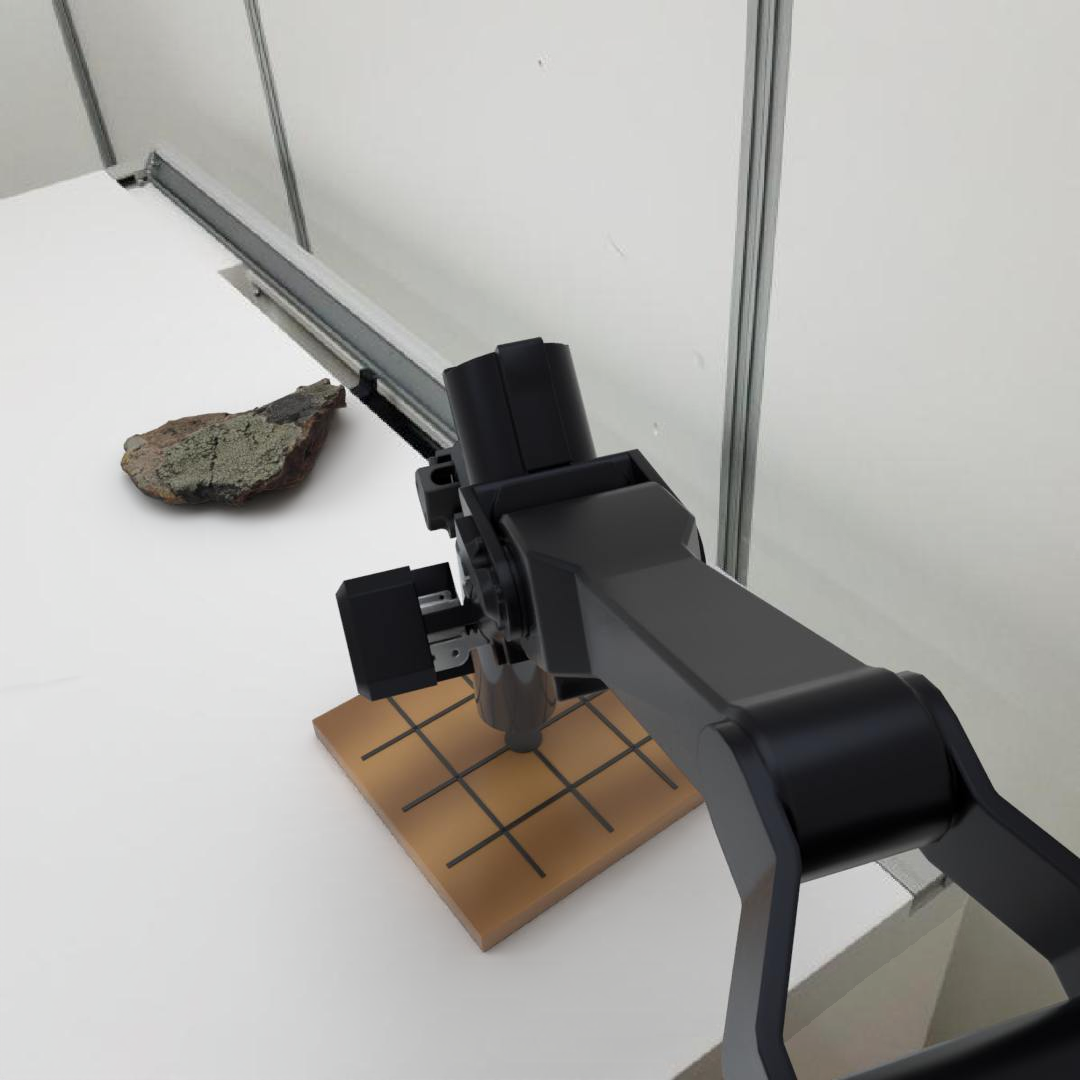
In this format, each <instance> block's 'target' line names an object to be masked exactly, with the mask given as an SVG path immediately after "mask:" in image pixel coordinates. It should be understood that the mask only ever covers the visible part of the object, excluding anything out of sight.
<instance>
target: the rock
mask: <svg viewBox="0 0 1080 1080" xmlns="http://www.w3.org/2000/svg"><path fill="white" fill-rule="evenodd" d="M346 396H347V390H346V386H345V385H343V384H341V383H340V384H339V385H334V384H332V383H331V379H330V378H329V377H328V378H327V377H324V378H321V379H320V380H318V381H315V382H314V383H311V384H309V385H299V386H298V387H296V390H295V391H294V392H291V393H288V394H286V395H284V396H283V397H280V398H277V399H275V400H273V401H271V402H268V403H267V404H263V405H261V406H259V407H258V406H256V407H254V408H253V409H248V410H247V411H243V412H242V411H241V412H236V413H228V412H213V413H212V412H211V413H209V412H208V413H204V414H203V413H202V414H197V415H190V416H189V415H188V416H184V417H180V418H177V419H172V420H171V419H170V420H167V421H166V423H164V424H162V425H159V427H157V428H154V429H152V430H149V431H146V432H143V433H142V434H137V433H136V434H133V435H132V436H130V437H127V439H125V441H124V443H123V450H124V451H125V452H124V454H123V456H122V458H121V461H120V462H119V463H120V467H121V470H122V471H123V472H125V474H127V475H128V477H129V479H130V480H131V481H132V483H133V484H134V486H135V487H136V488H137V489H138V491H140V492H141V493H142V494H143V495H144V496H146V497H149V498H150V499H153V500H157V501H160V502H164V503H165V504H168V505H170V506H173V505H180V504H192V505H198V504H202V503H207V502H210V501H215V502H218V503H220V504H223V505H227V506H230V507H233V508H240V507H242V506H243V505H245V504H246V503H247V502H248V501H249V500H250V499H251V498H252V497H253V496H255V495H257V494H259V493H263V492H267V491H271V490H282V489H290V488H295V487H297V486H299V485H300V484H301V482H302V481H303V480H304V479H305V478H306V477H307V475H308V474H310V473H311V471H312V468H313V466H314V463H315V461H316V459H317V457H318V455H319V452H320V450H321V448H322V446H323V445H324V443H325V442H326V440H327V438H328V436H329V429H330V428H329V427H330V425H331V423H332V420H333V417H334V410H337V409H344V408H347V406H348V405H347V402H346V399H347V397H346Z"/></svg>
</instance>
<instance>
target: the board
mask: <svg viewBox="0 0 1080 1080" xmlns="http://www.w3.org/2000/svg"><path fill="white" fill-rule="evenodd" d="M311 722H312V726H313V730H314V733H315V736H316V737H317V738H318V740H319V741H320V743H321V744H322V745H323V746H324V748H325V749H326V751H328V752H329V754H330V755H331V757H332V758H333V759H334V761H335V762H336V763H337V764H338V765H339V767H340V768H341V770H342V771H343V772H344V773H345V776H347V778H348V779H349V780H350V781H351V783H352V784H353V785H354V787H355V788H356V789H357V791H358V792H359V793H360V794H361V795H362V797H363V798H364V800H366V802H367V804H369V806H370V807H371V809H372V810H373V811H374V812H375V814H376V815H377V816H378V818H379V819H380V820H381V822H382V823H383V825H385V827H386V828H387V830H388V831H389V832H390V833H391V835H392V836H393V838H395V840H396V841H397V842H398V844H399V845H400V847H401V848H402V849H403V850H404V851H405V853H406V854H407V855H408V857H409V858H410V859H411V861H412V863H414V864H415V866H416V867H417V868H418V870H419V871H420V872H421V873H422V875H423V876H424V877H425V879H426V880H427V881H428V883H429V884H430V886H431V887H432V888H433V889H434V891H435V892H436V893H437V894H438V896H439V897H440V898H441V900H442V901H443V903H445V905H446V906H447V907H448V909H449V910H450V911H451V912H452V914H453V915H454V916H455V918H456V919H457V920H458V921H459V923H460V924H461V925H462V928H464V929H465V931H466V932H467V933H468V935H469V936H470V938H472V940H473V941H474V942H475V944H476V945H477V946H478V948H479V949H480V950H481V951H482V952H483V953H486V952H487V951H488V950H490V949H491V948H493V947H494V946H495V945H497V944H498V943H500V942H501V941H503V940H504V939H506V938H507V937H508V936H511V934H513V933H514V932H516V931H517V930H519V929H521V928H522V927H523V926H524V925H526V924H528V923H529V922H530V921H531V920H534V918H536V917H538V916H539V915H541V914H542V913H544V912H545V911H546V910H548V909H549V908H550V907H552V906H554V905H556V904H557V903H558V902H560V901H561V900H562V899H564V898H565V897H567V896H568V895H570V894H571V893H573V892H574V891H576V890H578V889H579V888H580V887H582V886H583V885H584V884H586V883H587V882H589V881H590V880H591V879H594V878H595V877H596V876H597V875H599V874H600V873H602V872H603V871H604V870H606V869H608V868H609V867H611V866H612V865H613V864H615V863H617V862H618V861H619V860H621V859H623V858H624V857H626V856H627V855H628V854H630V853H631V852H633V851H634V850H635V849H637V848H638V847H640V846H642V845H643V844H644V843H645V842H647V841H648V840H650V839H651V838H653V837H655V836H656V835H657V834H659V833H660V832H662V831H663V830H664V829H666V828H668V827H669V826H670V825H672V824H673V823H675V822H676V821H677V820H679V819H681V818H682V817H684V816H685V815H686V814H688V813H690V812H691V811H693V810H694V809H695V808H697V807H698V806H700V805H701V804H703V803H705V799H704V797H703V796H702V795H701V794H700V793H699V792H698V791H697V789H696V788H695V787H694V786H693V785H692V784H691V783H690V781H689V780H688V779H687V778H686V777H685V776H684V774H683V773H682V772H681V771H680V770H679V769H678V768H677V766H676V765H675V764H674V763H673V762H672V761H671V759H670V758H669V757H668V756H667V755H666V754H665V753H664V751H663V750H662V749H661V748H660V747H659V746H658V744H657V743H656V742H655V741H654V740H653V739H652V738H651V736H650V735H649V734H648V733H647V732H646V731H645V729H644V728H643V727H642V726H641V725H640V724H639V723H638V721H637V720H636V719H635V718H634V717H633V716H632V715H631V713H630V712H629V711H628V710H627V709H626V708H625V706H624V705H623V704H622V703H621V702H620V701H619V700H618V698H617V697H616V696H615V695H614V694H613V693H612V691H611V690H606V691H602V692H598V693H594V694H590V695H586V696H583V697H579V698H575V699H571V700H567V701H563V702H558V701H557V705H556V708H555V711H554V713H553V714H552V716H551V717H550V718H549V719H548V720H547V721H546V722H545V723H544V724H542V725H541V726H539V727H537V728H535V729H532V730H530V731H526V732H520V733H508V732H502V731H499V730H496V729H494V728H492V727H490V726H488V725H487V724H486V723H485V722H484V721H483V720H482V719H481V718H480V716H479V714H478V712H477V709H476V701H475V694H474V686H473V678H472V674H469V675H465V676H461V677H457V678H453V679H449V680H445V681H441V682H437V685H436V686H432V687H428V688H424V689H420V690H416V691H412V692H408V693H404V694H400V695H396V696H392V697H388V698H384V699H380V700H376V701H373V702H372V701H370V700H369V699H367V698H365V697H364V696H362V695H360V694H359V693H358V694H357V695H356V696H353V697H352V698H350V699H348V700H346V701H344V702H342V703H341V704H339V705H337V706H334V707H333V708H331V709H330V710H328V711H326V712H324V713H322V714H320V715H319V716H316V717H315V718H313V719H311Z"/></svg>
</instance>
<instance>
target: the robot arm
mask: <svg viewBox="0 0 1080 1080" xmlns="http://www.w3.org/2000/svg"><path fill="white" fill-rule="evenodd" d="M571 351H572V350H571V348H570V345H569V344H564V343H561V342H544V339H543V338H542V336H537V337H532V338H526V339H521V340H517V341H511V342H507V343H500V344H497V345H496V347H495V349H494V351H492V352H488V353H486V354H483V355H479V356H477V357H474V358H472V359H469V360H467V361H464V362H462V363H460V364H458V365H456V366H450V367H447V368H444V370H443V371H442V373H441V375H442V380H443V384H444V388H445V391H446V396H447V400H448V404H449V408H450V413H451V417H452V421H453V425H454V429H455V434H456V437H457V441H455V443H454V444H453V445H452V446H450V447H447V448H441V449H437V450H435V453H434V454H435V455H434V456H430V457H427V461H428V465H426V466H421V467H419V468H417V469H416V470H415V471H414V480H415V481H414V483H415V488H416V493H417V497H418V500H419V504H420V507H421V508H420V509H421V512H422V515H423V519H424V522H425V526H426V529H427V530H428V531H430V532H435V531H438V530H445V531H446V532H447V534H448V537H449V539H450V540H451V539H456V538H457V543H458V545H459V548H460V551H459V555H460V559H461V564H462V568H463V572H464V575H465V576H470V578H471V579H467V580H465V581H464V582H463V590H464V594H465V596H466V598H467V599H470V598H471V593H472V603H469V604H465V605H463V604H462V602H461V600H460V597H459V594H458V591H457V588H456V584H455V581H454V576H453V573H452V569H451V565H450V562H449V561H444V562H440V563H436V564H432V565H428V566H423V567H419V568H414V569H411V567H410V565H405V566H399V567H397V568H392V569H388V570H384V571H379V572H375V573H371V574H366V575H362V576H357V577H353V578H348V579H345V580H343V581H342V583H341V584H340V585H339V587H338V589H337V591H336V592H335V600H336V604H337V609H338V613H339V617H340V621H341V625H342V631H343V634H344V639H345V642H346V647H347V652H348V657H349V660H350V665H351V669H352V673H353V677H354V682H355V686H356V690H357V694H358V695H359V694H360V695H362V696H364V697H365V698H367V699H369V700H370V701H372V702H373V701H376V700H380V699H384V698H388V697H392V696H396V695H400V694H404V693H408V692H412V691H416V690H420V689H424V688H428V687H432V686H436V685H437V682H441V681H445V680H449V679H453V678H457V677H461V676H465V675H469V674H472V673H475V668H474V662H473V656H472V649H474V648H478V647H482V646H486V645H490V644H491V646H492V650H493V655H494V659H495V663H496V666H499V665H503V664H507V665H512V664H516V663H520V662H524V661H528V660H531V661H532V662H533V663H535V664H536V665H537V666H539V667H540V668H541V669H542V670H544V671H545V672H547V673H548V674H549V675H550V679H551V683H552V687H553V692H554V695H555V698H556V700H557V701H558V702H563V701H567V700H571V699H575V698H579V697H583V696H586V695H590V694H594V693H598V692H602V691H606V690H611V691H612V693H613V694H614V695H615V696H616V697H617V698H618V700H619V701H620V702H621V703H622V704H623V705H624V706H625V708H626V709H627V710H628V711H629V712H630V713H631V715H632V716H633V717H634V718H635V719H636V720H637V721H638V723H639V724H640V725H641V726H642V727H643V728H644V729H645V731H646V732H647V733H648V734H649V735H650V736H651V738H652V739H653V740H654V741H655V742H656V743H657V744H658V746H659V747H660V748H661V749H662V750H663V751H664V753H665V754H666V755H667V756H668V757H669V758H670V759H671V761H672V762H673V763H674V764H675V765H676V766H677V768H678V769H679V770H680V771H681V772H682V773H683V774H684V776H685V777H686V778H687V779H688V780H689V781H690V783H691V784H692V785H693V786H694V787H695V788H696V789H697V791H698V792H699V793H700V794H701V795H702V796H703V797H704V799H705V801H704V803H705V805H706V809H707V812H708V814H709V817H710V821H711V824H712V827H713V830H714V833H715V835H716V838H717V840H718V843H719V846H720V848H721V851H722V853H723V857H724V858H725V861H726V864H727V867H728V869H729V872H730V874H731V875H730V876H731V877H732V880H733V882H734V885H735V888H736V890H737V893H738V895H739V899H740V904H741V907H740V913H739V914H740V915H739V921H738V929H737V935H736V941H735V942H736V943H735V949H734V955H733V956H734V957H733V965H732V971H731V979H730V985H729V992H728V998H727V999H728V1000H727V1008H726V1013H725V1021H724V1027H723V1036H722V1042H721V1050H720V1061H721V1063H720V1064H721V1070H722V1072H721V1073H722V1077H723V1080H799V1079H798V1077H797V1074H796V1072H795V1069H794V1066H793V1063H792V1060H791V1058H790V1055H789V1053H788V1050H787V1047H786V1045H785V1041H784V1027H785V1018H786V1012H787V1011H786V1010H787V1001H788V994H789V985H790V976H791V969H792V968H791V967H792V959H793V950H794V941H795V933H796V924H797V917H798V907H799V899H800V898H799V897H800V890H801V885H802V884H805V883H809V882H811V881H814V880H815V881H816V880H817V879H821V878H824V877H825V878H826V877H827V876H831V875H834V874H838V873H841V872H845V871H848V870H851V869H855V868H857V867H861V866H865V865H868V864H870V863H874V862H877V861H880V860H884V859H888V858H890V857H894V856H897V855H901V854H904V853H907V852H910V851H914V850H917V849H918V850H919V851H920V852H921V853H922V855H923V856H924V858H925V859H926V860H927V861H928V862H929V863H930V864H931V865H933V867H935V868H936V869H937V870H939V872H941V873H942V874H943V875H945V876H946V877H947V878H948V879H949V880H951V882H953V883H954V884H955V885H957V886H958V887H959V888H960V889H961V890H962V891H963V892H964V893H966V894H968V895H969V896H970V897H971V898H972V899H974V900H975V901H976V902H977V903H978V904H979V905H980V906H982V907H983V908H984V909H985V910H987V911H988V912H989V913H990V914H991V915H993V916H994V917H995V918H996V919H998V920H999V921H1000V922H1001V923H1002V924H1003V925H1005V926H1006V927H1007V928H1008V929H1009V930H1011V931H1012V932H1013V933H1015V935H1016V936H1018V937H1019V938H1020V939H1021V940H1023V942H1025V943H1027V944H1028V945H1029V946H1030V947H1031V948H1032V949H1034V950H1035V951H1036V952H1037V953H1038V954H1040V955H1041V956H1042V957H1043V958H1045V959H1046V960H1047V961H1048V963H1049V964H1050V965H1051V967H1052V968H1053V971H1054V973H1055V974H1056V977H1057V978H1058V980H1059V983H1060V984H1061V986H1062V988H1063V990H1064V992H1065V994H1066V997H1067V998H1068V999H1065V1000H1062V1001H1059V1002H1057V1003H1053V1004H1051V1005H1047V1006H1044V1007H1042V1008H1038V1009H1036V1010H1032V1011H1030V1012H1027V1013H1024V1014H1021V1015H1018V1016H1015V1017H1012V1018H1009V1019H1006V1020H1002V1021H1000V1022H997V1023H995V1024H991V1025H989V1026H986V1027H985V1026H984V1027H983V1028H979V1029H977V1030H974V1031H971V1032H968V1033H965V1034H962V1035H959V1036H956V1037H953V1038H950V1039H947V1040H944V1041H941V1042H938V1043H936V1044H932V1045H930V1046H927V1047H926V1046H925V1047H923V1048H921V1049H917V1050H914V1051H911V1052H909V1053H906V1054H903V1055H900V1056H896V1057H894V1058H891V1059H888V1060H885V1061H882V1062H879V1063H876V1064H873V1065H870V1066H867V1067H864V1068H861V1069H858V1070H856V1071H853V1072H849V1073H847V1074H843V1075H841V1076H838V1077H835V1078H832V1079H831V1080H1080V857H1079V856H1077V854H1075V853H1074V852H1073V851H1071V850H1070V849H1069V848H1067V846H1065V845H1064V844H1063V843H1061V841H1059V840H1057V839H1056V838H1055V837H1054V836H1053V835H1051V834H1049V833H1048V832H1047V831H1046V830H1045V829H1044V828H1042V827H1041V826H1039V825H1038V824H1037V823H1036V822H1035V821H1033V820H1032V819H1031V818H1030V817H1028V816H1027V815H1026V814H1025V813H1023V812H1022V811H1021V810H1019V808H1017V807H1015V805H1013V804H1012V803H1011V802H1009V801H1008V800H1007V799H1005V798H1004V797H1003V796H1002V795H1000V794H999V792H998V791H997V790H996V789H995V787H994V785H993V783H992V782H991V779H990V777H989V774H988V773H987V771H986V770H985V768H984V766H983V764H982V762H981V759H980V758H979V756H978V754H977V752H976V750H975V748H974V746H973V744H972V743H971V740H970V739H969V737H968V734H967V733H966V730H965V729H964V727H963V725H962V722H961V721H960V719H959V717H958V715H957V714H956V712H955V711H954V710H953V708H952V706H951V705H950V703H949V702H948V700H947V699H946V697H945V695H944V694H943V692H942V690H941V689H939V688H938V686H936V685H935V684H934V683H933V682H932V681H930V679H928V678H927V677H926V676H925V675H924V674H922V673H918V672H915V671H910V670H908V669H907V670H903V671H899V672H895V671H892V670H890V669H888V668H885V667H881V666H879V667H878V666H872V665H868V664H866V663H864V662H863V661H861V660H859V659H858V658H856V657H854V656H853V655H851V654H850V653H849V652H847V651H845V650H844V649H842V648H841V647H838V646H837V645H835V644H834V643H832V642H831V641H829V640H828V639H826V638H824V637H823V636H821V635H819V634H818V633H816V632H815V631H814V630H812V629H810V628H808V627H807V626H805V625H804V624H802V623H801V622H799V621H797V620H796V619H795V618H793V617H791V616H789V615H788V614H786V612H783V611H781V610H780V609H778V608H777V607H775V606H773V604H770V603H769V602H767V601H766V600H764V599H763V598H761V597H759V596H758V595H756V594H755V593H753V592H751V591H750V590H748V589H746V588H745V587H743V586H742V585H740V584H739V583H737V582H735V581H734V580H733V579H731V578H729V577H728V576H726V575H724V574H723V573H721V572H719V570H716V568H713V567H712V566H710V565H708V564H707V558H706V553H705V547H704V544H703V540H702V537H701V533H700V530H699V527H698V526H697V522H696V521H697V520H696V516H695V514H693V513H692V512H691V511H690V510H689V509H688V508H687V507H686V506H685V505H684V503H683V502H682V501H681V500H680V498H679V497H678V495H676V494H675V492H674V491H673V490H672V489H671V488H670V486H669V484H668V483H666V481H665V480H664V479H663V478H662V477H661V475H660V474H659V473H658V472H657V470H656V469H655V468H654V466H653V465H652V464H651V463H650V462H649V461H648V459H647V458H646V457H645V455H644V454H643V453H642V451H641V450H640V449H639V448H633V449H629V450H625V451H620V452H615V453H611V454H606V455H601V456H598V455H597V452H596V447H595V444H594V439H593V436H592V431H591V427H590V424H589V420H588V416H587V411H586V408H585V404H584V400H583V395H582V391H581V388H580V383H579V380H578V376H577V372H576V368H575V364H574V360H573V356H572V355H573V354H572V352H571ZM473 623H477V624H478V626H479V627H477V633H475V632H474V630H473V629H470V631H469V633H468V629H467V625H469V624H473Z"/></svg>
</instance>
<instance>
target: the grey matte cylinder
mask: <svg viewBox="0 0 1080 1080" xmlns="http://www.w3.org/2000/svg"><path fill="white" fill-rule="evenodd" d="M454 543H455V544H454V547H455V554H456V561H457V569H458V577H459V585H460V593H461V599H462V605H465V604H469V603H472V593H471V598H470V599H467V598H466V596H465V594H464V590H463V582H464V581H465V580H467V579H471V578H470V576H465V575H464V572H463V568H462V564H461V559H460V555H459V551H460V548H459V545H458V543H457V538H455V541H454ZM477 627H479V626H478V624H477V623H473V624H469V625H467V629H468V633H469V631H470V629H473V630H474V632H475V633H477ZM472 656H473V662H474V668H475V673H472V678H473V686H474V694H475V701H476V709H477V712H478V714H479V716H480V718H481V719H482V720H483V721H484V722H485V723H486V724H487V725H488V726H490V727H492V728H494V729H496V730H499V731H502V732H508V733H520V732H526V731H530V730H532V729H535V728H537V727H539V726H541V725H542V724H544V723H545V722H546V721H547V720H548V719H549V718H550V717H551V716H552V714H553V713H554V711H555V708H556V705H557V700H556V698H555V695H554V692H553V687H552V683H551V679H550V675H549V674H548V673H547V672H545V671H544V670H542V669H541V668H540V667H539V666H537V665H536V664H535V663H533V662H532V661H531V660H528V661H524V662H520V663H516V664H512V665H507V664H503V665H499V666H496V663H495V659H494V655H493V650H492V646H491V644H490V645H486V646H482V647H478V648H474V649H472Z"/></svg>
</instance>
